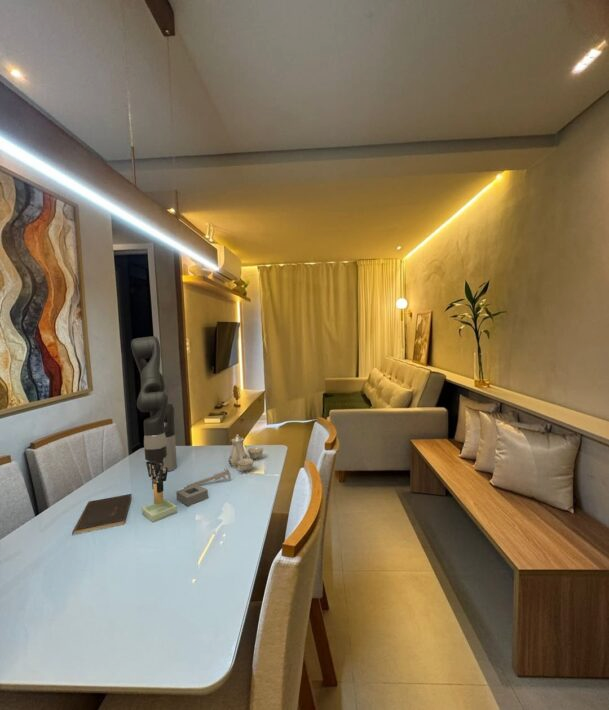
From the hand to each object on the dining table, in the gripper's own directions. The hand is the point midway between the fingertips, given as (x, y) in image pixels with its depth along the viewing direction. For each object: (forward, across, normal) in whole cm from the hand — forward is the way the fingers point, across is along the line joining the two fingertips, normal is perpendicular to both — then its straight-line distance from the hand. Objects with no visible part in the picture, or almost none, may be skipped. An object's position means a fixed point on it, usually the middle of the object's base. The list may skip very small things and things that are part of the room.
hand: (158, 490), depth 129 cm
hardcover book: (+10, -16, -14) cm, 23 cm away
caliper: (+9, -9, +26) cm, 29 cm away
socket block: (+9, -1, +14) cm, 17 cm away
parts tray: (+9, 0, 0) cm, 9 cm away
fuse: (+5, 0, 0) cm, 5 cm away
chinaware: (+9, -15, +51) cm, 54 cm away
